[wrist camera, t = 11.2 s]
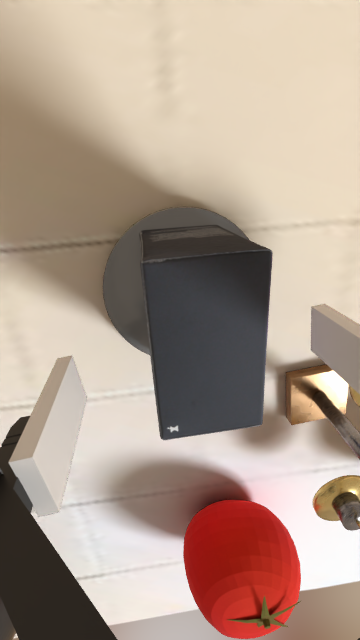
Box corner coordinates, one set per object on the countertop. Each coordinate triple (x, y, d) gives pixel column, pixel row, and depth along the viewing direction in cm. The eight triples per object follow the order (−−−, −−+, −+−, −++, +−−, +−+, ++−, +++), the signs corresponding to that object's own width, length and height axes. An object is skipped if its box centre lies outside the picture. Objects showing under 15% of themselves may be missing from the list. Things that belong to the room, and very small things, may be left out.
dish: (125, 365, 28) (124, 372, 27) (85, 222, 23) (82, 224, 22) (259, 338, 29) (264, 345, 28) (252, 192, 23) (257, 193, 22)
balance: (287, 472, 37) (367, 632, 24) (284, 291, 27) (420, 393, 14) (334, 462, 37) (440, 615, 24) (349, 279, 27) (543, 368, 14)
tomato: (183, 552, 41) (197, 675, 31) (175, 483, 36) (188, 605, 25) (271, 537, 42) (312, 652, 32) (276, 467, 37) (329, 579, 26)
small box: (224, 344, 27) (268, 430, 18) (151, 353, 27) (156, 446, 17) (223, 222, 23) (281, 248, 13) (137, 229, 22) (133, 261, 13)
